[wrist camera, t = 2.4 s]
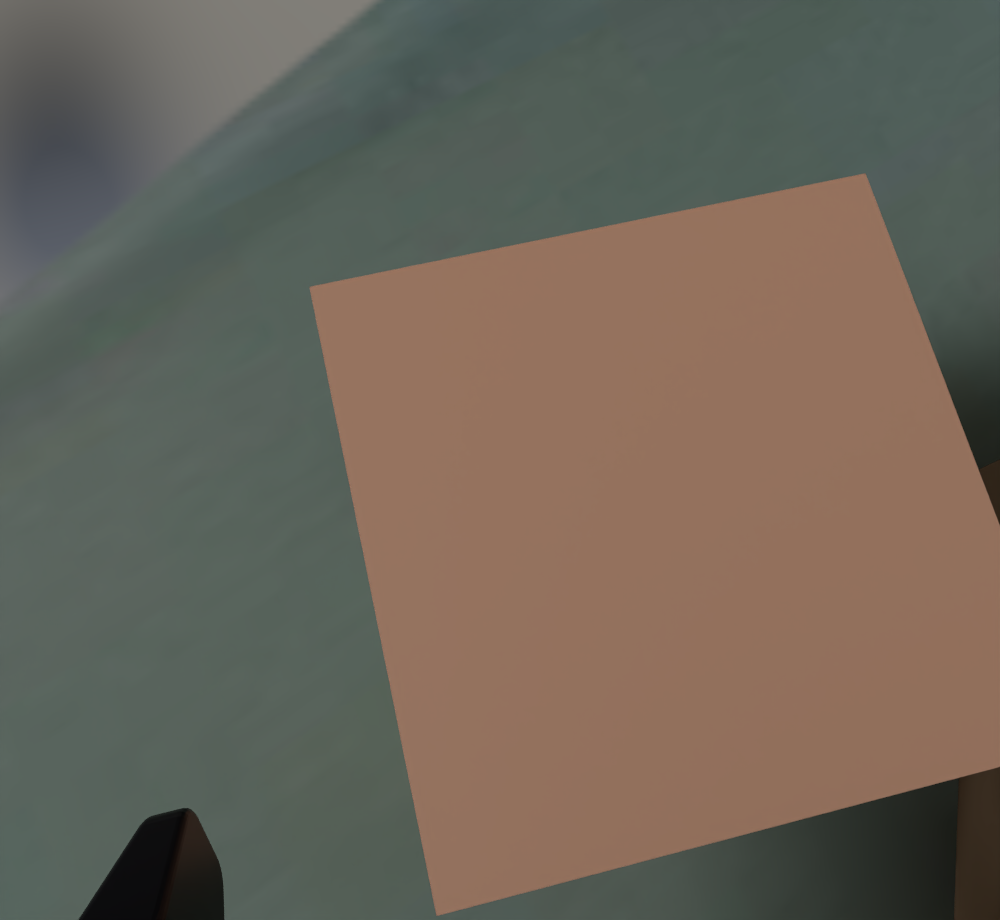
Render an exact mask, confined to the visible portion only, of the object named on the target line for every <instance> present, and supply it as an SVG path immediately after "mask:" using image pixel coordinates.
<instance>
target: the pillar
mask: <svg viewBox="0 0 1000 920" xmlns="http://www.w3.org/2000/svg"><path fill="white" fill-rule="evenodd" d="M310 292H311V297H312V302H313V306H314V311H315V316H316V321H317V326H318V331H319V336H320V341H321V346H322V351H323V356H324V361H325V366H326V371H327V376H328V381H329V386H330V391H331V396H332V400H333V405H334V410H335V415H336V420H337V425H338V430H339V435H340V440H341V445H342V450H343V455H344V460H345V465H346V470H347V475H348V480H349V485H350V490H351V494H352V499H353V504H354V509H355V514H356V519H357V524H358V529H359V534H360V539H361V544H362V549H363V554H364V559H365V564H366V569H367V574H368V579H369V583H370V588H371V593H372V598H373V603H374V608H375V613H376V618H377V623H378V628H379V633H380V638H381V643H382V648H383V653H384V658H385V663H386V668H387V673H388V677H389V682H390V687H391V692H392V697H393V702H394V707H395V712H396V717H397V722H398V727H399V732H400V737H401V742H402V747H403V752H404V757H405V762H406V767H407V771H408V776H409V781H410V786H411V791H412V796H413V801H414V806H415V811H416V816H417V821H418V826H419V831H420V836H421V841H422V846H423V851H424V856H425V861H426V865H427V870H428V875H429V880H430V885H431V890H432V895H433V900H434V905H435V910H436V915H437V916H438V915H442V914H446V913H450V912H453V911H457V910H461V909H465V908H469V907H472V906H476V905H480V904H484V903H487V902H491V901H495V900H499V899H503V898H506V897H510V896H514V895H518V894H521V893H525V892H529V891H533V890H537V889H540V888H544V887H548V886H552V885H555V884H559V883H563V882H567V881H571V880H574V879H578V878H582V877H586V876H589V875H593V874H597V873H601V872H605V871H608V870H612V869H616V868H620V867H623V866H627V865H631V864H635V863H639V862H642V861H646V860H650V859H654V858H657V857H661V856H665V855H669V854H673V853H676V852H680V851H684V850H688V849H691V848H695V847H699V846H703V845H707V844H710V843H714V842H718V841H722V840H726V839H729V838H733V837H737V836H741V835H744V834H748V833H752V832H756V831H760V830H763V829H767V828H771V827H775V826H778V825H782V824H786V823H790V822H794V821H797V820H801V819H805V818H809V817H812V816H816V815H820V814H824V813H828V812H831V811H835V810H839V809H843V808H846V807H850V806H854V805H858V804H862V803H865V802H869V801H873V800H877V799H880V798H884V797H888V796H892V795H896V794H899V793H903V792H907V791H911V790H914V789H918V788H922V787H926V786H930V785H933V784H937V783H941V782H945V781H948V780H952V779H956V778H960V777H964V776H967V775H971V774H975V773H979V772H982V771H986V770H990V769H994V768H998V767H1000V525H999V522H998V519H997V517H996V514H995V512H994V509H993V506H992V504H991V501H990V499H989V496H988V493H987V491H986V488H985V485H984V483H983V480H982V478H981V475H980V472H979V470H978V467H977V464H976V462H975V459H974V457H973V454H972V451H971V449H970V446H969V443H968V441H967V438H966V436H965V433H964V430H963V428H962V425H961V423H960V420H959V417H958V415H957V412H956V409H955V407H954V404H953V402H952V399H951V396H950V394H949V391H948V388H947V386H946V383H945V381H944V378H943V375H942V373H941V370H940V367H939V365H938V362H937V360H936V357H935V354H934V352H933V349H932V347H931V344H930V341H929V339H928V336H927V333H926V331H925V328H924V326H923V323H922V320H921V318H920V315H919V312H918V310H917V307H916V305H915V302H914V299H913V297H912V294H911V291H910V289H909V286H908V284H907V281H906V278H905V276H904V273H903V271H902V268H901V265H900V263H899V260H898V257H897V255H896V252H895V250H894V247H893V244H892V242H891V239H890V236H889V234H888V231H887V229H886V226H885V223H884V221H883V218H882V215H881V213H880V210H879V208H878V205H877V202H876V200H875V197H874V195H873V192H872V189H871V187H870V184H869V181H868V179H867V176H866V174H860V175H855V176H850V177H846V178H841V179H836V180H831V181H826V182H821V183H816V184H811V185H806V186H802V187H797V188H792V189H787V190H782V191H777V192H772V193H767V194H762V195H757V196H753V197H748V198H743V199H738V200H733V201H728V202H723V203H718V204H713V205H708V206H704V207H699V208H694V209H689V210H684V211H679V212H674V213H669V214H664V215H659V216H655V217H650V218H645V219H640V220H635V221H630V222H625V223H620V224H615V225H611V226H606V227H601V228H596V229H591V230H586V231H581V232H576V233H571V234H566V235H562V236H557V237H552V238H547V239H542V240H537V241H532V242H527V243H522V244H517V245H513V246H508V247H503V248H498V249H493V250H488V251H483V252H478V253H473V254H468V255H464V256H459V257H454V258H449V259H444V260H439V261H434V262H429V263H424V264H420V265H415V266H410V267H405V268H400V269H395V270H390V271H385V272H380V273H375V274H371V275H366V276H361V277H356V278H351V279H346V280H341V281H336V282H331V283H326V284H322V285H317V286H312V287H310Z"/></svg>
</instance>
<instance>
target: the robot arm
mask: <svg viewBox="0 0 1000 920" xmlns="http://www.w3.org/2000/svg"><path fill="white" fill-rule="evenodd" d="M79 920H224V892H223V878H222V872H221V867H220V864H219V861H218V859H217V856H216V854H215V852H214V850H213V848H212V846H211V844H210V842H209V840H208V838H207V836H206V834H205V832H204V830H203V827H202V825H201V823H200V821H199V819H198V817H197V816H196V814H195V813H194V812H193V811H192V810H191V809H189V808H182V809H178V810H174V811H170V812H166V813H162V814H158V815H154V816H151V817H149V818H147V819H146V820H145V821H144V822H143V823H142V824H141V825H140V826H139V828H138V829H137V831H136V833H135V834H134V836H133V837H132V839H131V840H130V842H129V843H128V845H127V846H126V848H125V849H124V851H123V852H122V854H121V855H120V857H119V859H118V860H117V862H116V863H115V865H114V866H113V868H112V869H111V871H110V872H109V874H108V875H107V877H106V878H105V880H104V881H103V883H102V885H101V886H100V888H99V889H98V891H97V892H96V894H95V895H94V897H93V898H92V900H91V901H90V903H89V904H88V906H87V907H86V909H85V911H84V912H83V914H82V915H81V917H80V918H79Z"/></svg>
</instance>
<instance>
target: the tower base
mask: <svg viewBox="0 0 1000 920" xmlns="http://www.w3.org/2000/svg"><path fill="white" fill-rule="evenodd" d="M979 472H980V475H981V478H982V480H983V483H984V485H985V488H986V491H987V493H988V496H989V499H990V501H991V504H992V506H993V509H994V512H995V514H996V517H997V519H998V522H999V525H1000V460H998V461H996V462H994V463H992V464H989V465H987V466H985V467H983V468H981V469H979ZM954 920H1000V767H998V768H994V769H990V770H986V771H982V772H979V773H975V774H971V775H967V776H964V777H960V778H959V790H958V819H957V849H956V879H955V909H954Z"/></svg>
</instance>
